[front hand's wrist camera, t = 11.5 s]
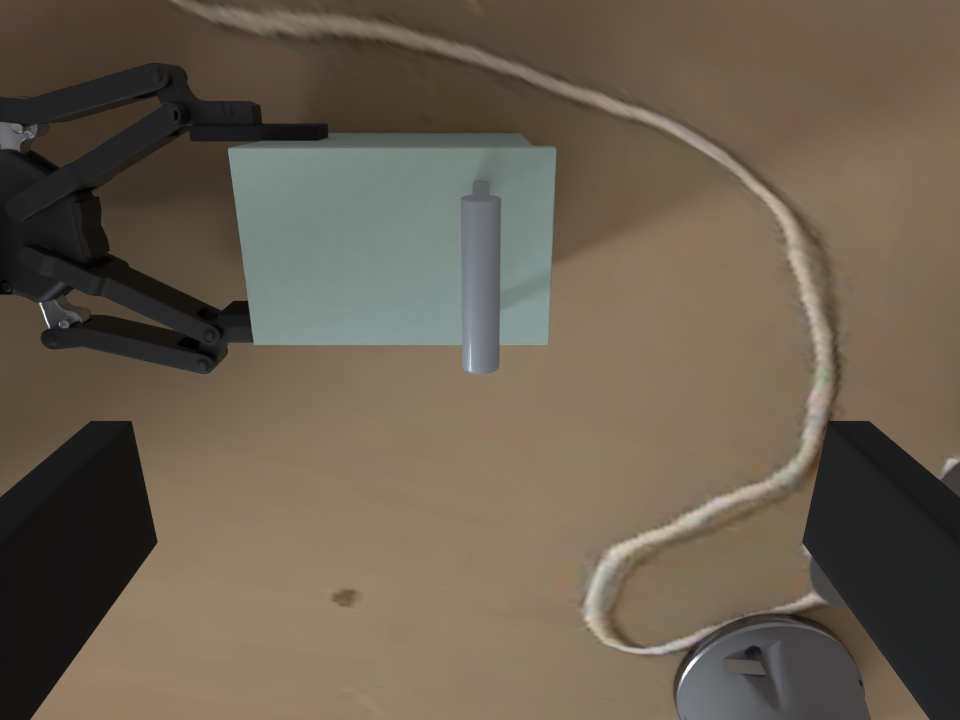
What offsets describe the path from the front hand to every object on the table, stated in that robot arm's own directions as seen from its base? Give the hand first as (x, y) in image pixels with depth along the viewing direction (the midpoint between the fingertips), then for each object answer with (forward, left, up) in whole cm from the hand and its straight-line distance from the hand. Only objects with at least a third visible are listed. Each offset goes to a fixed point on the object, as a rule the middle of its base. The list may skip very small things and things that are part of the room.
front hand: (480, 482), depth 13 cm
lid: (+4, +1, -21) cm, 22 cm away
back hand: (+8, +3, -26) cm, 28 cm away
